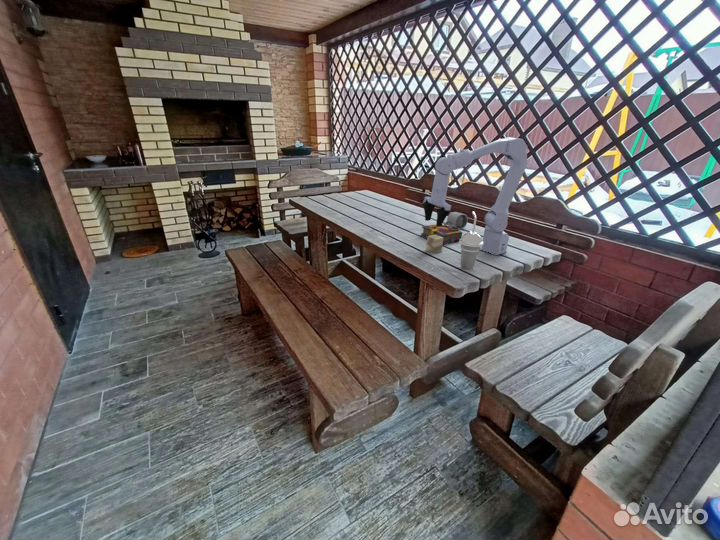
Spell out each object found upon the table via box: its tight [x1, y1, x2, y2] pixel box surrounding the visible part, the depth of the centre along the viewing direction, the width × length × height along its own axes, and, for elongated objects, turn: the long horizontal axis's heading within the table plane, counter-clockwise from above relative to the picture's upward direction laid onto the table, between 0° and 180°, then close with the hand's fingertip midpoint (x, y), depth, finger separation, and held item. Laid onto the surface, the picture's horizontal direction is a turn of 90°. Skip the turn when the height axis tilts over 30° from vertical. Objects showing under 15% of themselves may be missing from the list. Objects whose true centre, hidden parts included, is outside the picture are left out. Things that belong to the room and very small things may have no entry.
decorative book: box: [420, 224, 463, 246], centre depth 151 cm, size 11×16×5 cm
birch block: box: [425, 235, 444, 254], centre depth 136 cm, size 4×4×6 cm
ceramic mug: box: [443, 211, 469, 230], centre depth 166 cm, size 11×8×8 cm
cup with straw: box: [458, 211, 484, 271], centre depth 118 cm, size 8×9×20 cm
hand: (433, 223), depth 135 cm, fingers open, 7 cm apart
